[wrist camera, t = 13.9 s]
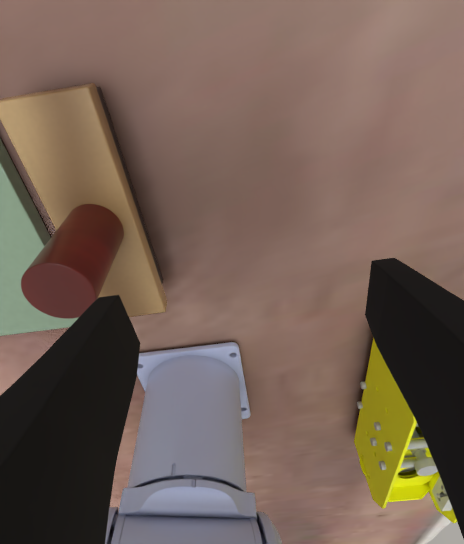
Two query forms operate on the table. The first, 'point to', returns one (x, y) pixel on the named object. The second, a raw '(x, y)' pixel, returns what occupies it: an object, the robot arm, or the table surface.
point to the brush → (82, 206)
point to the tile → (19, 254)
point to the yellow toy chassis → (394, 444)
